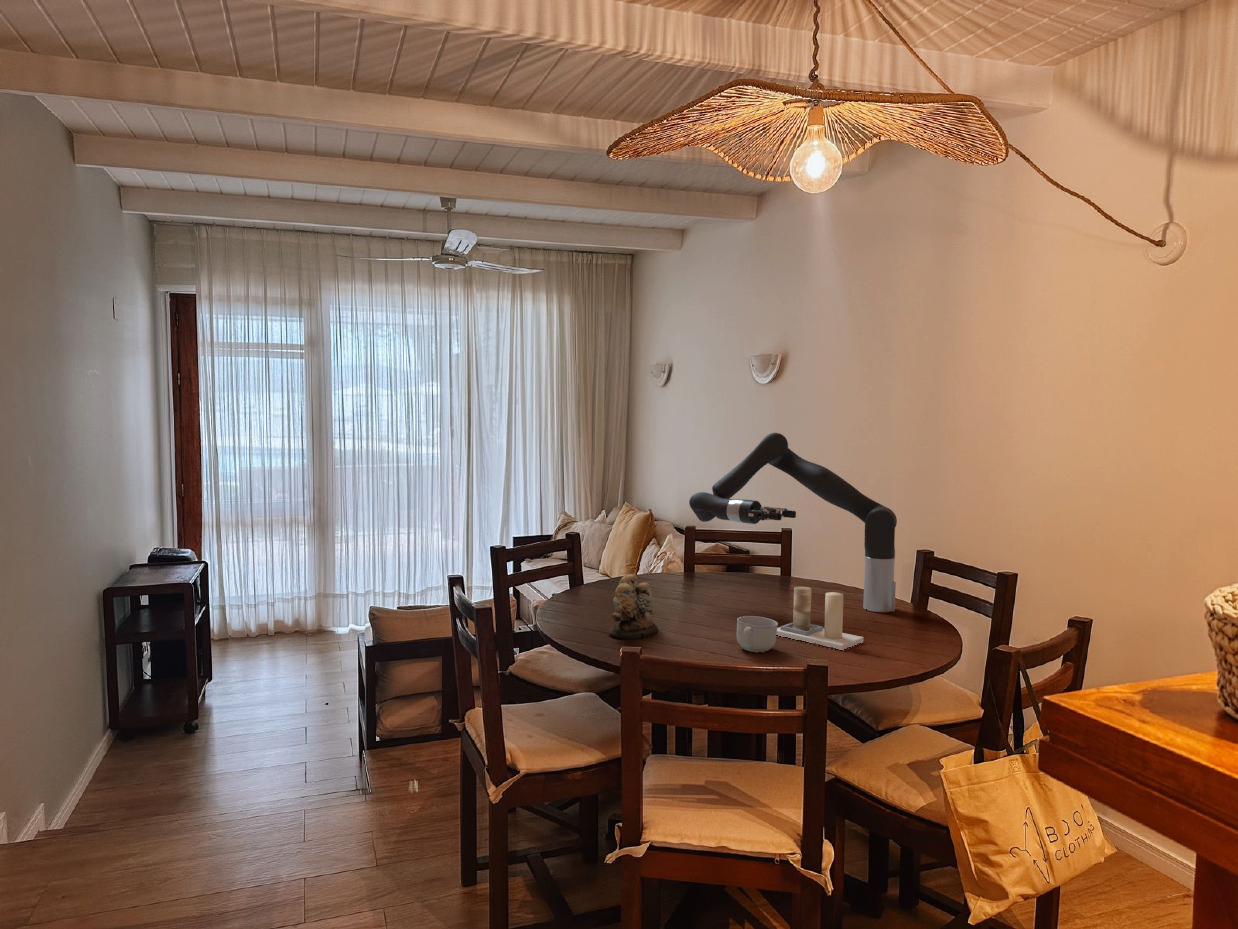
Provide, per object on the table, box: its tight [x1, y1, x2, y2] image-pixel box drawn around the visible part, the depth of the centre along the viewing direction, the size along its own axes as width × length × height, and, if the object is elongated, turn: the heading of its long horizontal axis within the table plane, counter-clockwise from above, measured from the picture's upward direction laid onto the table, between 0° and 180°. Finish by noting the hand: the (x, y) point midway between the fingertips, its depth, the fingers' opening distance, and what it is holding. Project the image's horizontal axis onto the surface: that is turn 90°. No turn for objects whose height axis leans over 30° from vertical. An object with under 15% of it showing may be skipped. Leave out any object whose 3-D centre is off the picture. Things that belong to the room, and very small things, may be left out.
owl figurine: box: [608, 573, 659, 640], centre depth 236 cm, size 18×12×17 cm, turn 145°
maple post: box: [792, 586, 812, 631], centre depth 236 cm, size 5×5×12 cm
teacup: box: [736, 615, 779, 653], centre depth 220 cm, size 14×11×8 cm
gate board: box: [777, 591, 864, 651], centre depth 232 cm, size 22×12×14 cm, turn 46°
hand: (788, 515), depth 256 cm, fingers open, 8 cm apart
